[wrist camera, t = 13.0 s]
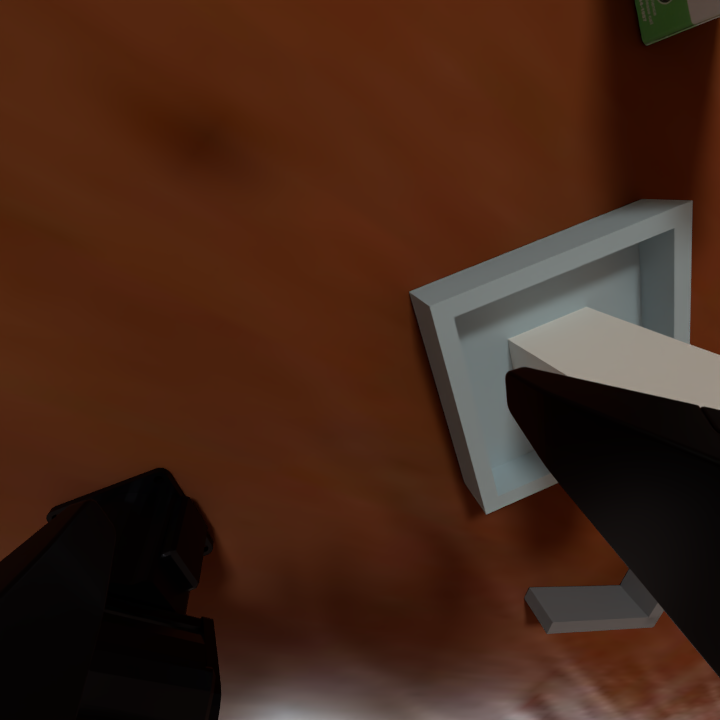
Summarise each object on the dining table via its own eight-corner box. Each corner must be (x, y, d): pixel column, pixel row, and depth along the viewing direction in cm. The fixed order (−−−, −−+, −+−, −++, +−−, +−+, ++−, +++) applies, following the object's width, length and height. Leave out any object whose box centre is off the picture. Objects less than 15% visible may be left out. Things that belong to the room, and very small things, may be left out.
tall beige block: (520, 409, 26) (724, 583, 14) (507, 339, 24) (733, 477, 12) (608, 372, 26) (873, 512, 15) (603, 299, 24) (907, 398, 13)
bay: (524, 598, 34) (546, 633, 32) (589, 460, 30) (622, 488, 27) (624, 595, 37) (653, 627, 34) (697, 469, 33) (737, 494, 30)
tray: (464, 483, 28) (486, 514, 25) (409, 291, 22) (429, 306, 19) (647, 403, 29) (687, 425, 26) (641, 198, 23) (692, 200, 20)
